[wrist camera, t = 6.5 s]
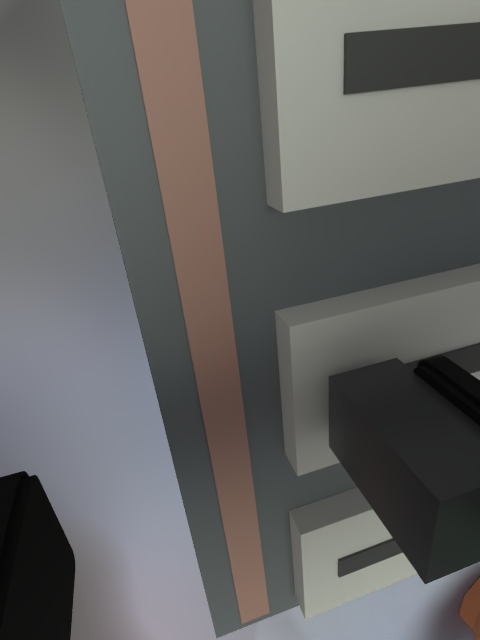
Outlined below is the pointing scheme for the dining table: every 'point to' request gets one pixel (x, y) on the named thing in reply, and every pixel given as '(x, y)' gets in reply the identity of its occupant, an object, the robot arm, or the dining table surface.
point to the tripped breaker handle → (410, 463)
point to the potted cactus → (472, 609)
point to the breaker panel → (285, 253)
